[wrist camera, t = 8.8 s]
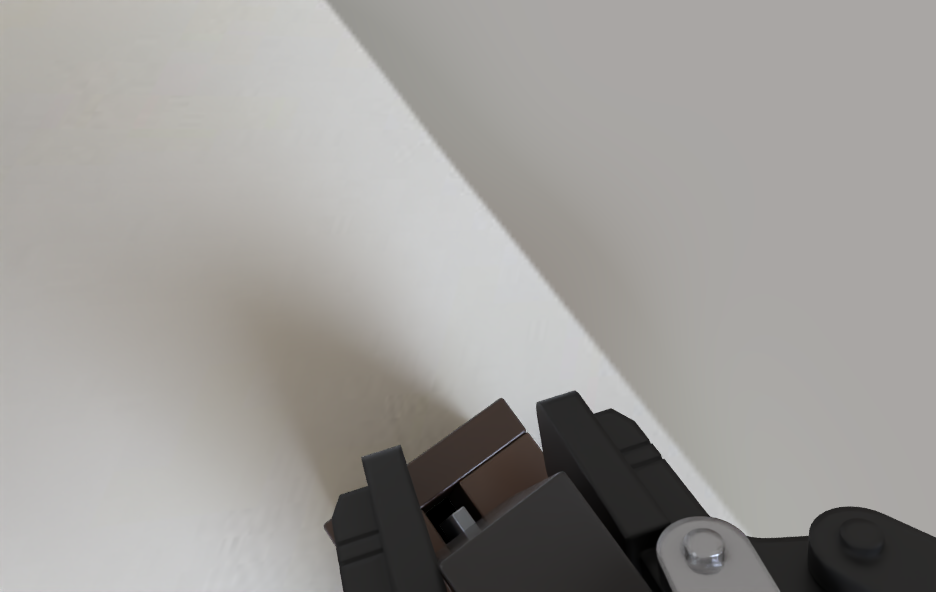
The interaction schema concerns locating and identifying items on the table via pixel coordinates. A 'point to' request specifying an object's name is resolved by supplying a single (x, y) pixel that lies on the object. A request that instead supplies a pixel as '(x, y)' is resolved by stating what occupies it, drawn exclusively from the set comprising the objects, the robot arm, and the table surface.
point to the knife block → (475, 467)
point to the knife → (536, 546)
